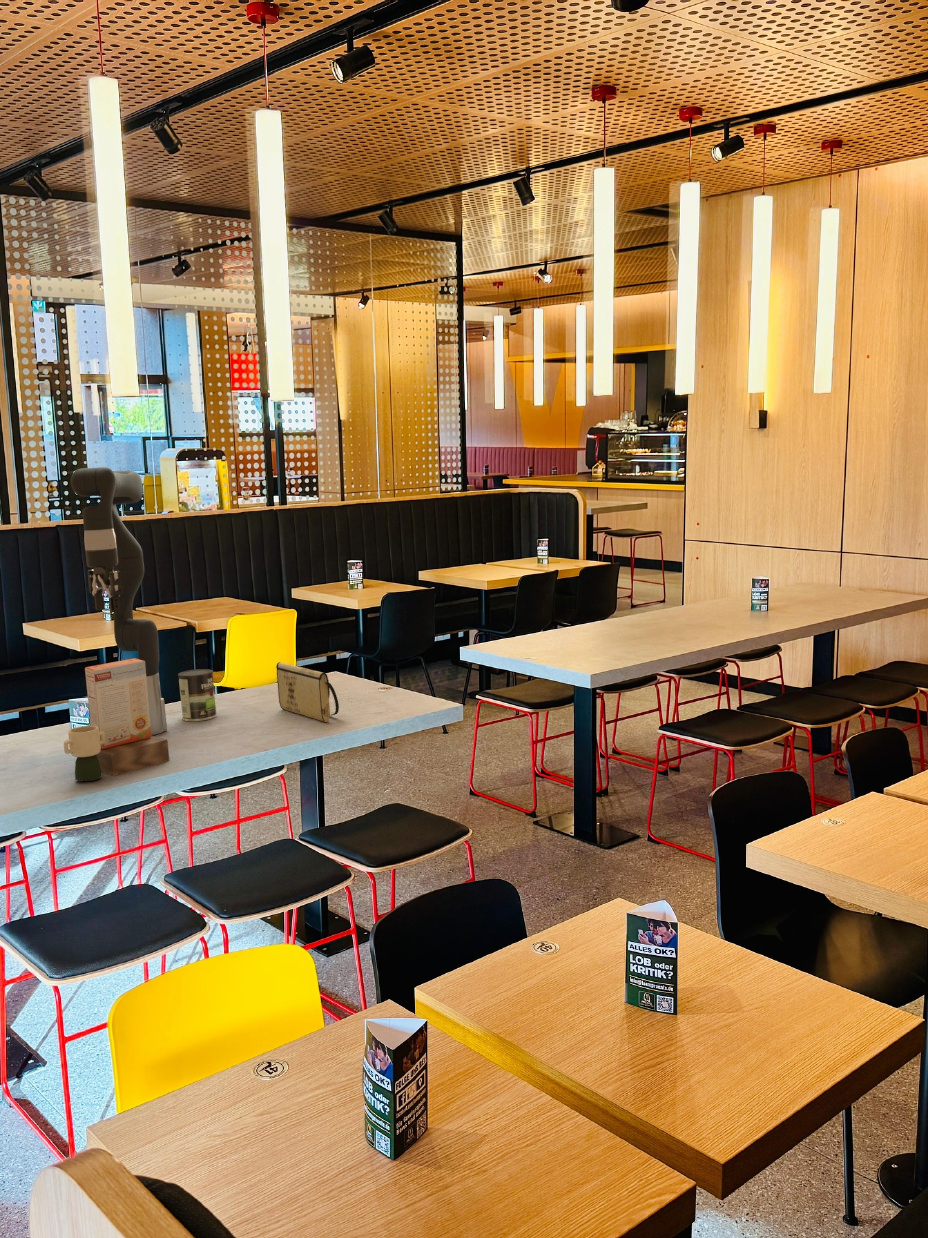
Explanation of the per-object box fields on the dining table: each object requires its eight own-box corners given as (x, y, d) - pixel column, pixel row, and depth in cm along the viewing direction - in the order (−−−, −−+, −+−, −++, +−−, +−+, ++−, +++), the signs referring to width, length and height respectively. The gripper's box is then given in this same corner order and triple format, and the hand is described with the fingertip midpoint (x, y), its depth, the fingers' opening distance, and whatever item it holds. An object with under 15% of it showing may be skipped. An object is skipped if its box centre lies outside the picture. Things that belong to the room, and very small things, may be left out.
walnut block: (136, 753, 281) (134, 731, 280) (169, 761, 270) (167, 739, 269) (81, 767, 269) (79, 745, 268) (113, 777, 258) (111, 754, 257)
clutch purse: (346, 720, 303) (342, 669, 301) (325, 724, 299) (321, 674, 296) (295, 705, 326) (291, 658, 324) (275, 709, 322) (271, 662, 320)
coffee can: (223, 713, 319) (219, 669, 317) (204, 722, 309) (200, 676, 307) (194, 712, 322) (190, 668, 320) (175, 721, 313) (171, 675, 311)
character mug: (100, 772, 262) (95, 722, 260) (116, 776, 258) (111, 725, 256) (60, 783, 254) (54, 732, 252) (76, 788, 249) (70, 736, 247)
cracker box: (141, 733, 275) (135, 657, 272) (152, 738, 271) (146, 660, 268) (90, 745, 266) (83, 666, 262) (101, 750, 262) (94, 669, 258)
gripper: (127, 546, 259) (134, 610, 261) (102, 545, 269) (109, 607, 271) (99, 549, 253) (106, 615, 256) (74, 548, 264) (81, 611, 266)
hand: (107, 611), depth 264 cm, fingers open, 8 cm apart
